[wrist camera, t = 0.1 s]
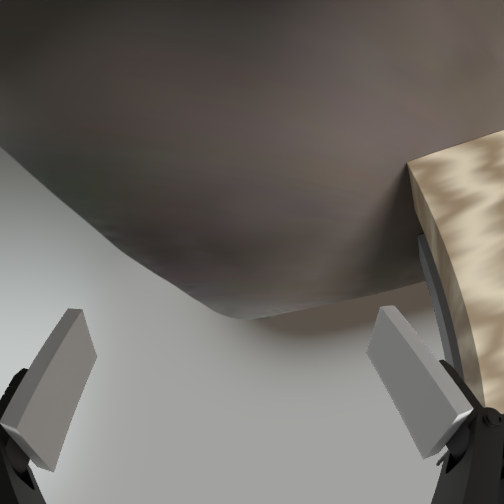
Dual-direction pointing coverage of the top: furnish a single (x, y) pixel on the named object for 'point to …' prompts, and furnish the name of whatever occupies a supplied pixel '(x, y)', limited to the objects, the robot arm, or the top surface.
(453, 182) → the tall stand
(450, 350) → the low stand
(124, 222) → the top surface
